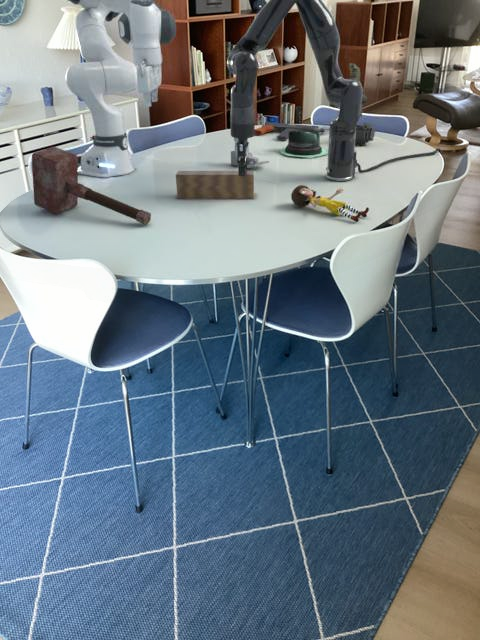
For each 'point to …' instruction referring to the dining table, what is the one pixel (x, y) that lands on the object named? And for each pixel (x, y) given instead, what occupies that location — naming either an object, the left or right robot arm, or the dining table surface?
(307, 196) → the figurine
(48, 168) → the sledgehammer
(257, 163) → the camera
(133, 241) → the dining table surface
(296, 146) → the dark green hat
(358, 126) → the toy
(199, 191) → the bar
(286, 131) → the submachine gun
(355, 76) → the statue
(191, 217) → the dining table surface
